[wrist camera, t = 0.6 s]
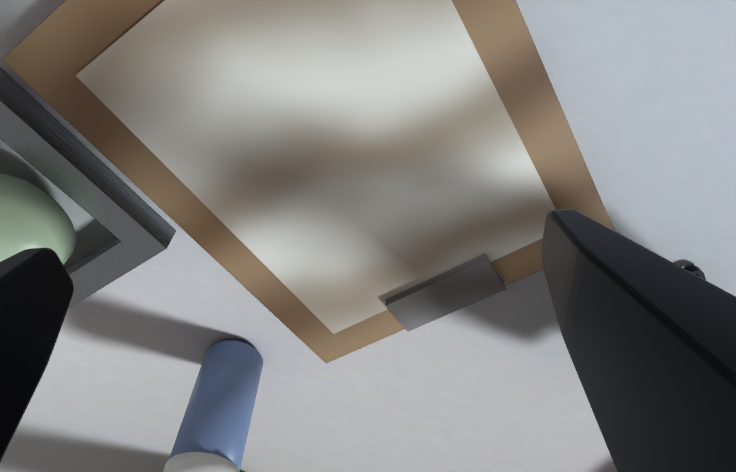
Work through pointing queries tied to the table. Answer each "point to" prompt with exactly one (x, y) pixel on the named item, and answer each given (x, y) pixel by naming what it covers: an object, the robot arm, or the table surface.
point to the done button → (32, 220)
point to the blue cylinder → (218, 410)
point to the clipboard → (327, 145)
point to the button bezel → (83, 191)
